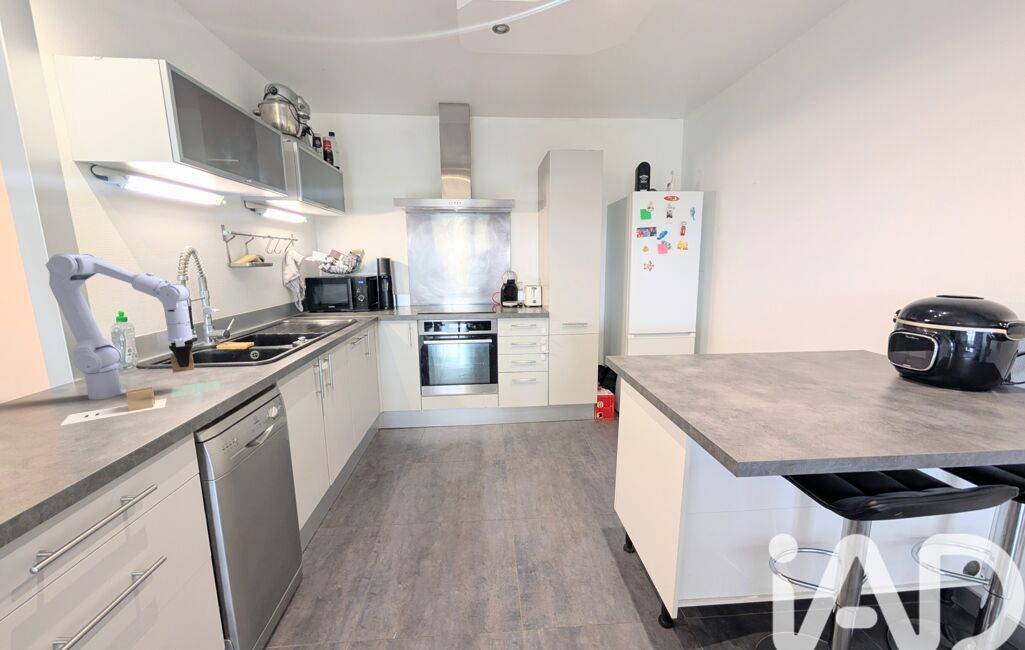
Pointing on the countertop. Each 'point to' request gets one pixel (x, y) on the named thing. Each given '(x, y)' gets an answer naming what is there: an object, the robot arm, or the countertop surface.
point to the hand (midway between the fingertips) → (184, 364)
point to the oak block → (140, 398)
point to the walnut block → (177, 368)
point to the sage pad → (195, 388)
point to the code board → (107, 413)
